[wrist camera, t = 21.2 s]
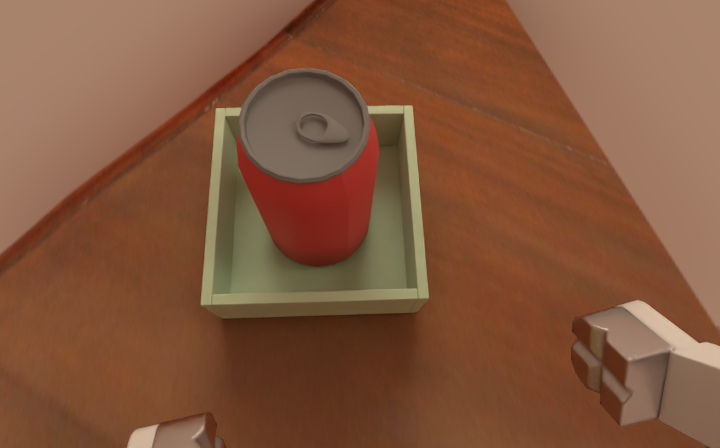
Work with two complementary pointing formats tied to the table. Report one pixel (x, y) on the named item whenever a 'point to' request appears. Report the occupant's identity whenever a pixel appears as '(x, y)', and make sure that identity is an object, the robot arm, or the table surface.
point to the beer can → (309, 163)
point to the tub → (308, 283)
